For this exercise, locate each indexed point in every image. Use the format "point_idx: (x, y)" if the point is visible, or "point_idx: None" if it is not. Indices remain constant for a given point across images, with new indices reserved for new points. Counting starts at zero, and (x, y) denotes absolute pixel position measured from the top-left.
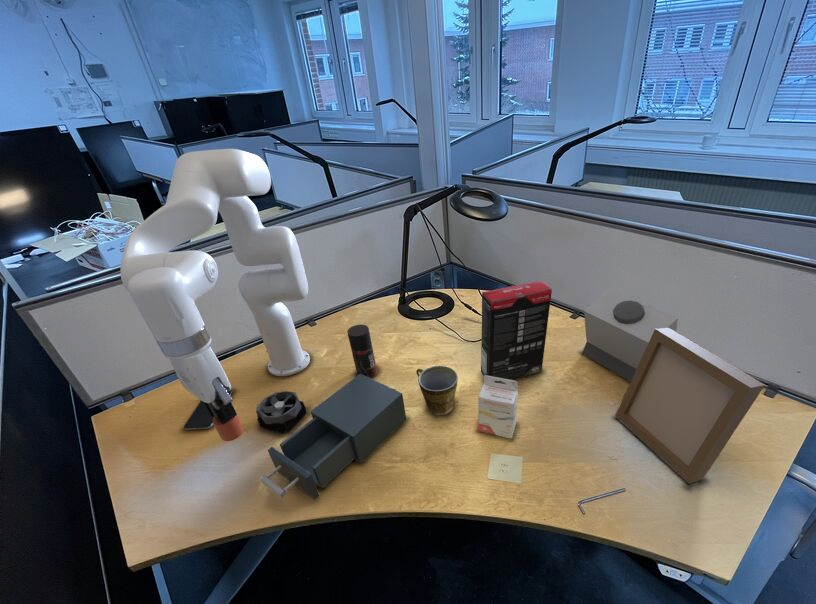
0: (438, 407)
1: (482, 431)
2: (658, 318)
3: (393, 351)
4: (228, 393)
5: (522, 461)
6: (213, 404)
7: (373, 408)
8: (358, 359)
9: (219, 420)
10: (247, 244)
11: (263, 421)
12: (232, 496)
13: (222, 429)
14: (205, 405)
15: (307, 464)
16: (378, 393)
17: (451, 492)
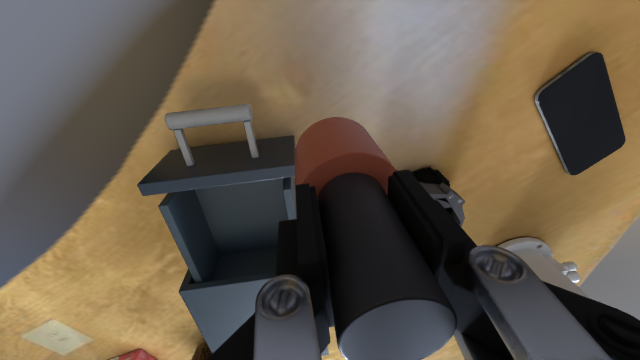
0: (198, 354)
1: (134, 351)
2: None
3: None
4: (570, 166)
5: (55, 352)
6: (294, 324)
7: (224, 336)
8: None
9: (304, 195)
10: None
11: (423, 181)
12: (317, 35)
13: (309, 157)
14: (437, 223)
15: (253, 183)
16: None
17: (56, 283)
